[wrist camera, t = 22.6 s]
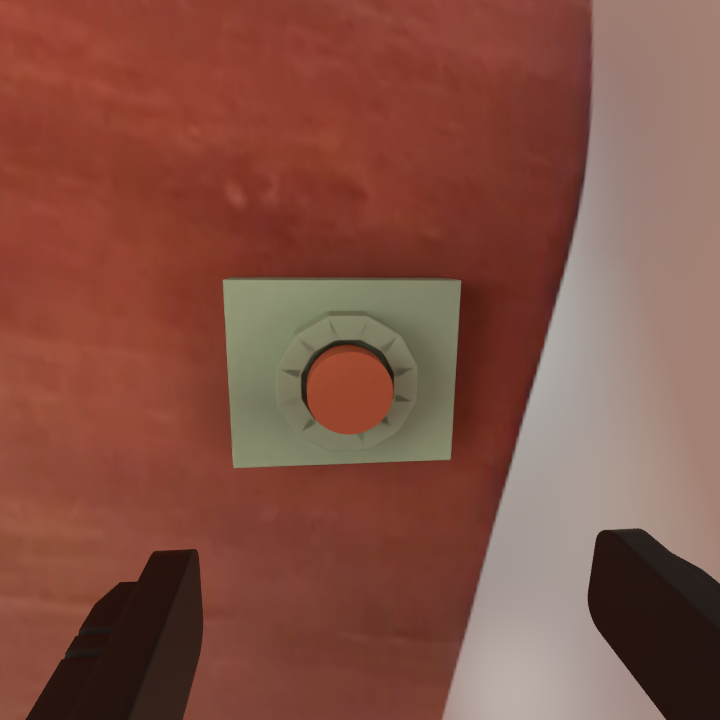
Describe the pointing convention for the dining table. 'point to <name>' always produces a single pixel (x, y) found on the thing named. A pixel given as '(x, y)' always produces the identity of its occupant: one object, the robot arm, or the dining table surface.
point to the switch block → (329, 329)
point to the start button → (349, 389)
